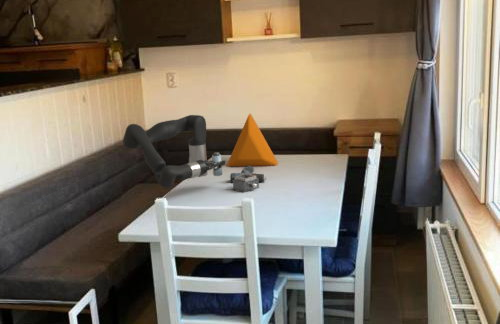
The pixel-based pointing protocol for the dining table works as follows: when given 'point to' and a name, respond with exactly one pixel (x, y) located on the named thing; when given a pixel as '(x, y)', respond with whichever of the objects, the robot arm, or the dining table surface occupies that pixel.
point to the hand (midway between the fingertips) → (220, 162)
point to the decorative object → (251, 148)
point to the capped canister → (216, 158)
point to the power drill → (248, 171)
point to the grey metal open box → (245, 183)
